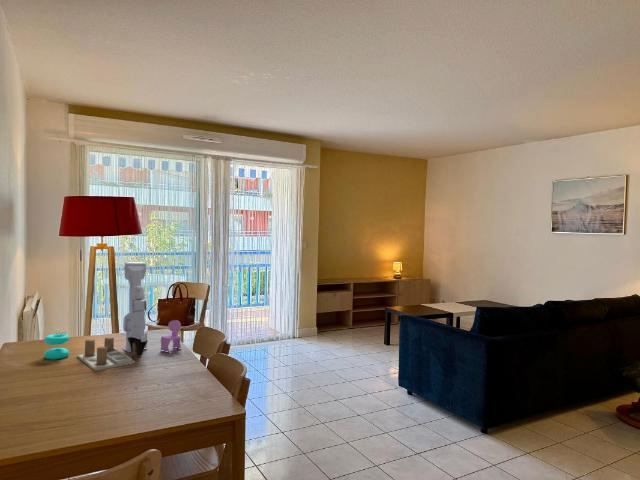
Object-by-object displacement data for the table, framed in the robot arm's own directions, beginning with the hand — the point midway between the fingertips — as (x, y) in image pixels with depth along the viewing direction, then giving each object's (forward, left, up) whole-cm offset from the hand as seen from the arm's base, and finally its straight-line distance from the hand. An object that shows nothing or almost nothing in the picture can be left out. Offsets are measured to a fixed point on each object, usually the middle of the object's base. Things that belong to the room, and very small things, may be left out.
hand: (136, 353), depth 205 cm
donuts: (+28, -22, -2) cm, 36 cm away
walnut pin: (0, 0, -2) cm, 2 cm away
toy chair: (-18, -2, -2) cm, 18 cm away
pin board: (+12, -4, -2) cm, 13 cm away
